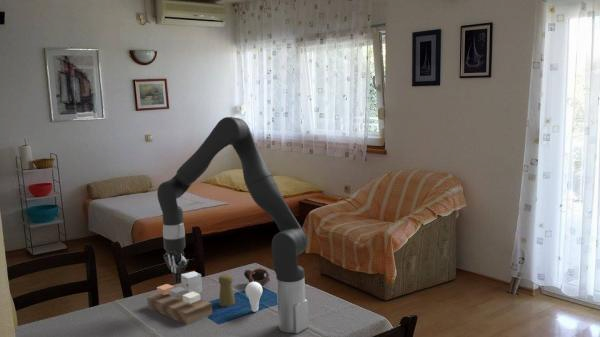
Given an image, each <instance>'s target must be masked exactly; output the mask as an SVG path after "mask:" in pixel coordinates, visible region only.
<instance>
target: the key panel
mask: <svg viewBox="0 0 600 337" xmlns="http://www.w3.org/2000/svg"><path fill="white" fill-rule="evenodd" d="M146 299H147V308H148V309H150V310H153V311H155V312H157V313H160V314H161V315H164V316H166V317H168V318H171V319H174V320H175V321H178V322H180V323H181V324H185V325H190V324H192V323H195V322H197V321H199V320H202V319H204V318H206V317H208V316H211V315H213V303H212V302H210V301H206V300H204V299H202V298H201V300H199V301H196V302H194V303H191V304H190V303H188V302H185V301H183V296H182V297H179V298H175V297H172V296H170V293H169V294H166V295H162V294H160V293H157V292H156V293H155V294H153V295H149V296H147V297H146Z"/></svg>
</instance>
